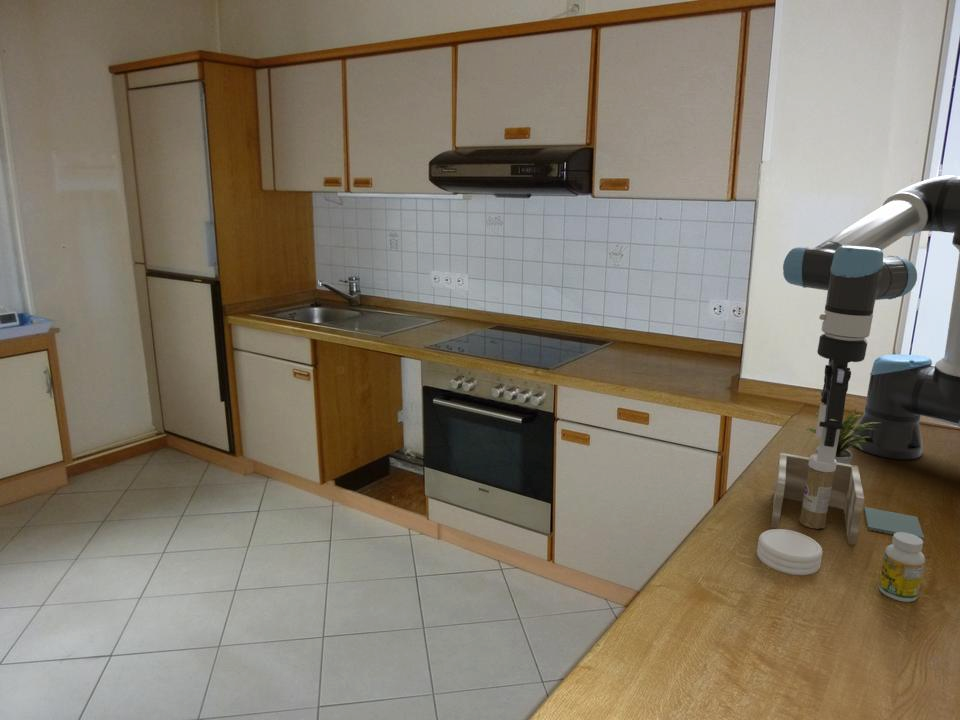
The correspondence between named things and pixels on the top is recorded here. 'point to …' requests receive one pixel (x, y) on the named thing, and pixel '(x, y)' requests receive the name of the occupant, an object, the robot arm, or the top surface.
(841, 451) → the house plant
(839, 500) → the birch box
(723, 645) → the top surface
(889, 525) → the felt mat
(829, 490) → the sprinkles bottle
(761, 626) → the top surface
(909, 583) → the supplement bottle
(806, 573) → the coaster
